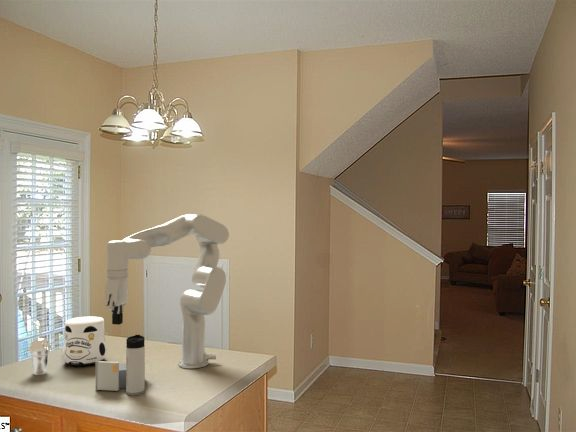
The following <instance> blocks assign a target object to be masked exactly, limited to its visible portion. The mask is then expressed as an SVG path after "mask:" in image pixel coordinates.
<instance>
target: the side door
mask: <svg viewBox="0 0 576 432" xmlns="http://www.w3.org/2000/svg"><path fill="white" fill-rule="evenodd" d="M119 364H120V362H119V361H106V360H105V361H103V360H102V361H96V363H95V391H100V390H101V391H114V392H115V391H116V392H117V391H119V390H120V388H119Z"/></svg>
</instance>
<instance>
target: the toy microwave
mask: <svg viewBox="0 0 576 432" xmlns="http://www.w3.org/2000/svg"><path fill="white" fill-rule="evenodd" d="M125 388H126V363H119V389H125Z"/></svg>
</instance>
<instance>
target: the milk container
mask: <svg viewBox="0 0 576 432" xmlns="http://www.w3.org/2000/svg"><path fill="white" fill-rule="evenodd" d="M106 343H107V342H106V340H105V319H104V318H103V317H101V316H93V315H92V316H79V317H77V316H76V317H73V318H70V319H67V320H66V321H65V322H64V345H63V349H62V359H63V361H64V363H65V364H68V365H69V366H78V367H79V366H90V365H95V364H96V361H103V360H104V359H105V357H106V355H107V350H108V349H107V344H106Z"/></svg>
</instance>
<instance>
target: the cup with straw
mask: <svg viewBox="0 0 576 432" xmlns="http://www.w3.org/2000/svg"><path fill="white" fill-rule="evenodd" d="M31 323H32V324H34V325H36V326H38V327H39V334H38V335H39V336H38V337H39V338H35V339H33V340H32V341H31V344H30V346H29V347H28V349H27V351H29V352H30V356H31V363H32V372H33V375H35V376H39V375H40V376H41V375H45V374H47V369H48V363H49V355H50V351H51V349H52V348H53V347H52V344H50V341H49V340H47V339H46V338H44V337H42V325H41V324H39V323H38V322H35V321H34V320H32V321H31Z"/></svg>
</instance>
